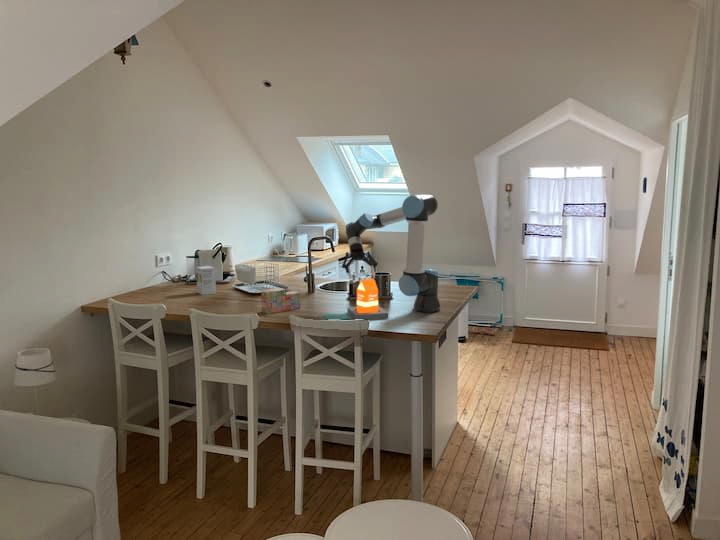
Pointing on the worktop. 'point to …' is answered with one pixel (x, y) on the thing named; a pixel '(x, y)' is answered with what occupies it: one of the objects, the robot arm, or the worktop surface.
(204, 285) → the supplement box
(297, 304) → the patterned cardboard box
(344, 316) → the mat
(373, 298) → the orange juice
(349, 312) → the puzzle board
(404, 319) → the worktop surface
